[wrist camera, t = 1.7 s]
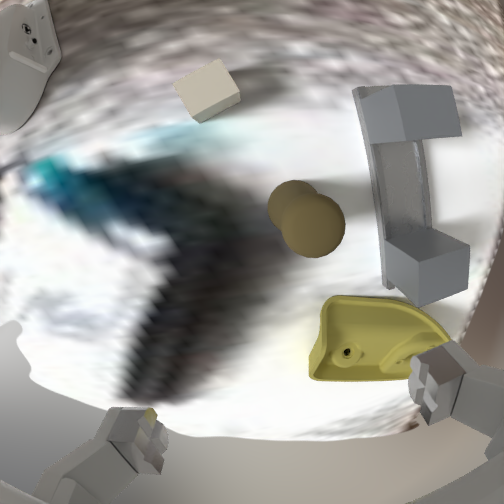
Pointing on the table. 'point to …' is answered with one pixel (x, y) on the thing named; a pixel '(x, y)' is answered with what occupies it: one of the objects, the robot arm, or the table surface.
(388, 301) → the plastic component
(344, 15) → the table surface
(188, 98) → the beige block
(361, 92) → the rail
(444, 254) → the block
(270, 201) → the cork
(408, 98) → the block
